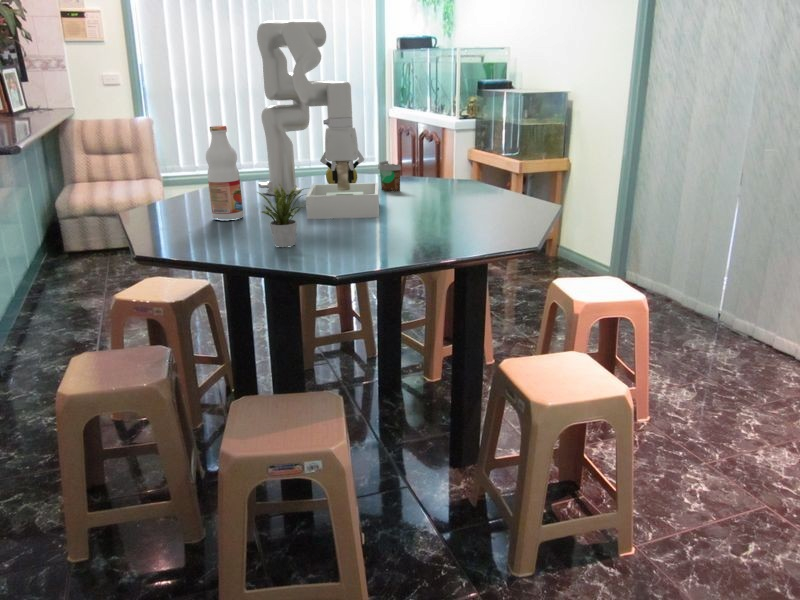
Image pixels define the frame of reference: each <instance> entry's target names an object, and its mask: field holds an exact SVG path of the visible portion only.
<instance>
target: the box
mask: <svg viewBox="0 0 800 600" xmlns="http://www.w3.org/2000/svg"><path fill="white" fill-rule="evenodd" d="M379 188H380V187H379V182H362V183H361V182H360V183H358V182H356V183H352V184H350V190H345V191H341V190H338V188H337V184H329V183H325V184H324V183H319V184H316V183H315V184H312V186H311V187H309V190H308V191H307V193H306V194H307V195H305V205H306V206H305V208H306V209H305V211H306V220H329V219H330V218H331V219H333V218H334V219H361V218H364V219H365V218H379V217H380V189H379Z"/></svg>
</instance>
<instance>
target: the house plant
mask: <svg viewBox="0 0 800 600" xmlns="http://www.w3.org/2000/svg"><path fill="white" fill-rule="evenodd" d="M279 186H280V189H281V194H280V191H279V189H278V187H277V186H276V187H277V188H274V192H275V195H274V197H275V198H274V199H275V201H274V202H275V204H276V205H275V206H274V205H273V204H272V202H271V201H270V200H269V198H268V197H266V196H265V195H264V194H262V193H260V192H258V191H256V193H257V194H259V195H260V196H261V197H263V198H264V200H266V202H267V203H268V204H269V206H270V207H271V208H272V209H271V208H270V207H269V206H267V205H263V207H264V208H265V210H266V211H265V210H264V211H263V210H262V211H261V213H262V214H264V215H267V216H269V217H270V218H271V219H272V220H271V221H270V222H269V228H270V231H271V234H272V238H273V243H274V246H275V245H276V246H279V247H288V246H293V245H295V246H296V240H297V238H296V237H297V228H298V227H297V226H298V220H295V219H293V218H294V217H295V215H296V214H297V213H298V212H299V211H300V210H301V209H304V210H306V209H305V208H306V204H305V205H302V206H301V207H300V206H296V207H294V205H295V204H296V202H297V201H298V200H299V199H300V198H301V197H303V196H306V195H307V193H306V194H301V195H299V196H298V194H300V193H301V192H302V191H304V190H308V189H309V187H307V188H302V189H301V190H300V191H298V192H297V193H295V194H294V192H295V189H296V188H297V187H298V186H296V187H295V188H293V189H292V190H291V192H290V194H289V195H286V192H285V191H284V190H283V188H282V186H281V185H280V184H279ZM277 189H278V190H277ZM297 196H298V197H297ZM296 197H297V198H296ZM295 198H296V200H295ZM294 200H295V201H294ZM293 202H294V203H293ZM292 203H293V204H292ZM291 204H292V206H291ZM296 209H298V210H296ZM292 213H293V214H292ZM293 247H294V246H293Z"/></svg>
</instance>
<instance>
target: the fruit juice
mask: <svg viewBox="0 0 800 600" xmlns="http://www.w3.org/2000/svg"><path fill="white" fill-rule="evenodd" d="M209 132H210V135H211V140H210V145H209V146H208V149H207V150H206V153H205V160H206V163H207V166H208V169H207V182H208V191H209V192H208V193H209V197H210V199H209V200H210V205H211V207H210V208H211V215H212V219H213V218H218V219H236V218H241V217H243V218H244V207H243V197H242V196H243V195H242V189H241V179H240V172H239V168H238V167H237V160H238V155H237V152H236V150H235V149H234V148H233V147H232V145H231V144H230V142H229V139H228V135H227V132H228V128H227V125H211V126H209Z"/></svg>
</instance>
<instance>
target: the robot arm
mask: <svg viewBox="0 0 800 600" xmlns="http://www.w3.org/2000/svg"><path fill="white" fill-rule="evenodd" d="M256 31H257V32H256V39H257V40H256V42H257V47H258V49H259V52H260V56H261V60H262V75H263V76H262V77H263V89H264V90H263V91H264V95H265V97H266V99H268V101H269V100H270V101H272V102H284V101H285V102H287V101H292V104H290V103H289V104H273V105H268V106H267V107H264V108H263V110H262V112H261V123H262V127H263V130H264V135H265V136H264V137H265V142H266V151H267V162H268V164H267V165H268V171H269V172H268V175H269V180H268V181H266V182H258V188H261V189H266V188H267V190H266V194H267V195H271V196H275V192H274V188H277V187H278V189H279V191H280V194H281V189H280V186H279V184H280V185H281V186H282V188H283V190H284V191H285V192H286V196H288V195H289V194H290V192H291V190H292V189H293V188H295V187H297V188H296V189H295V192H294V195H295V193H297V192H298V191H300V190H302V189H301V188H300V187H298V186H297V182H296V169H295V168H296V167H295V158H294V157H295V156H294V154H295V153H294V144H293V141H292V140H291V138H290V137H289V135H288V134H287V133H288V132H299V131H304V130H306V129H308V127H309V124H310V107H311V108H312V107H327V108H326V109H327V118H326V119H324V120H323V125H325V126H328V127H327V128H325V134H324V149H325V150H324V153H323V154H322V156H321V158H320V160H319V161H320V162H319V163H322V164H323V165H325V166H327V168H328V169H329V168H330V169H331V170H332V177H333V181H335V184H337V170H336V168H335V167H336V161H348V162H349V166H350V168H349V183H352V180H354V169H355V170H356V168H357V167H358V165H361V163H362V162H364V161H365V157H364V156H363V154H362V153H361V151H360V150H359V145H358V136H357V132H356V127H354V123H353V104H352V86H351V83H350V82H349V81H345V80H344V81H343V80H342V81H339V80H309V79H308V78H307V76H306V74H307V73H308V72H311V71H312V70H314V69H316V68H317V67H318V66H319V64H320V63H321V60H322V53H321V51H320V49H319V48H321V47H323V46H324V45H325V44H326V42H327V31H326V29H325V27H324V24H323V23H322V22H321V21H319V20H317V19H290V20H267V21H263V22H262V23H260V25H258V27H257V30H256ZM281 48H287V49H288V50H289V52H290V54H291V56H292V58H293V61H294V62H295V64H294V67H293V71H292V72H288V60H287V59H288V58H287V57H286V55H285V53H284V51H283V50H281ZM354 161H355V162H354ZM276 186H277V187H276ZM278 189H277V190H278Z"/></svg>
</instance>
